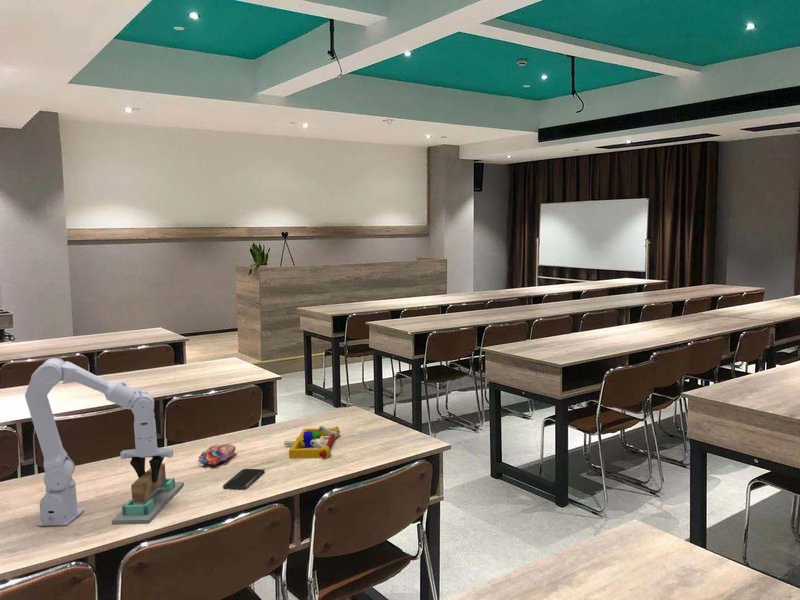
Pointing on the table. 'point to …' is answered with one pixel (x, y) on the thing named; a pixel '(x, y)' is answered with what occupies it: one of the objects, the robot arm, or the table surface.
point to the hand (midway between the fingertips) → (149, 481)
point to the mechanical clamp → (312, 443)
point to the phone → (244, 479)
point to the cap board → (148, 504)
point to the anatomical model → (217, 454)
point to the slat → (146, 485)
